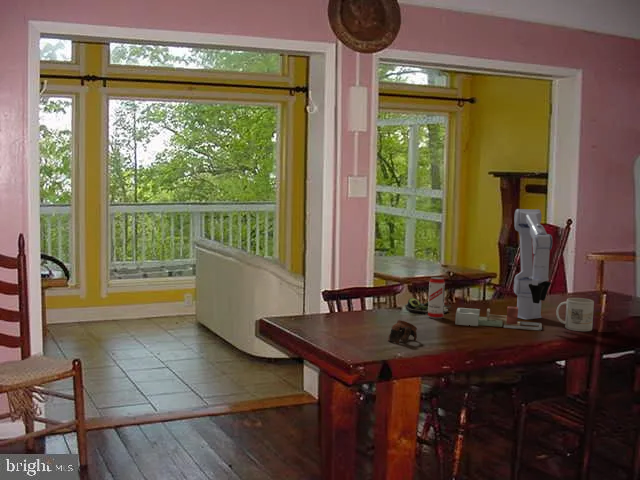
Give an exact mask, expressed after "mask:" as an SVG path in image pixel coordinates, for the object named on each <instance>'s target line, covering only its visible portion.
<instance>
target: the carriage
mask: <svg viewBox="0 0 640 480" xmlns="http://www.w3.org/2000/svg"><path fill="white" fill-rule="evenodd" d="M486 317H487V319H486V320H503V326H504V325H516V326H521V325H520V322H521V321H520V322H517V321H518V319H519V318H518V307H517V306H511V305H510V306H507V309H506V315H501V314H491V309H490V308H487V309H486Z"/></svg>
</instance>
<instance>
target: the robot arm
mask: <svg viewBox="0 0 640 480" xmlns="http://www.w3.org/2000/svg"><path fill="white" fill-rule="evenodd" d="M513 217H514V219H513V220H514V229H515V230H514V231H516V232H518V235H519V250H520V252H519V254H520V255H519V256H520V272H519V273H517V274H515V276H514V279H513V293H514V294H515V295H516V296H517V297H516V298H517V300H516V307H518V319H522V320H533V319H534V320H535V319H541V318H543V316H542V315H541V314H542V313H541V312H542V302H543V301H544V302H545V300H546V297H547V293H548V291H549V288H550V286H551V284H552V282H551V281H549V280H550V278H549V269H550V253H551V250H552V247H553V236H552V234H549V233H547V231H546V229H545V226H544V225H542V224H541V223H542V211H541V210H540V209H539V208H537V209H523V208H522V209H521V208H516V209H515V211H514V216H513Z"/></svg>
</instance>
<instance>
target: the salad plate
mask: <svg viewBox="0 0 640 480" xmlns="http://www.w3.org/2000/svg"><path fill="white" fill-rule="evenodd" d="M451 307H452V305H445V304H444V314H445V313H448V311H449V308H451ZM405 310H407V311H408V312H410V313H413V314H418V315H420V314H422V315H428V301H426V302H425V303H421V302H420V300H419V299H417V298H414V297H411V298H409V299H408V301H407V304H405Z"/></svg>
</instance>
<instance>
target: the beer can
mask: <svg viewBox="0 0 640 480" xmlns="http://www.w3.org/2000/svg"><path fill="white" fill-rule="evenodd" d="M445 285H446V282H445V278H444V277H442V276H441V277H440V276H431V277H430V280H429V284H428V301H427V302H428V314H427V316H428V317H429V318H430V319H435V320H440V319H443V317H444V315H445V313H444V305H445V292H446V291H445V290H446V286H445Z"/></svg>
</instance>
